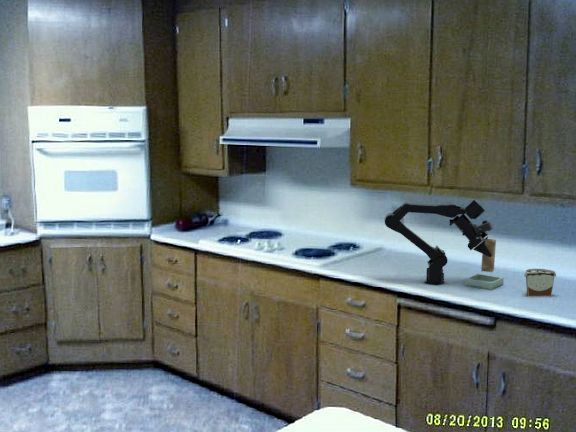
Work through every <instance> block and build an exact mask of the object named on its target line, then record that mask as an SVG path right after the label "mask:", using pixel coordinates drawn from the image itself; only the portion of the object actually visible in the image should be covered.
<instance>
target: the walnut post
mask: <svg viewBox="0 0 576 432" xmlns="http://www.w3.org/2000/svg"><path fill="white" fill-rule="evenodd" d="M484 240H485V245H486V247H487V248H488V250H489V251H490V253H491V255H492V256H491V257H488V256H486V255H484V254H482V253H481V255H482V256H481V270H480V271H481V272H487V273H493V272H494V271H495V258H496V245H497V244H496V243H497V239H493V238H488V239H484ZM484 240H483V241H484Z"/></svg>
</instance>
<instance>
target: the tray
mask: <svg viewBox="0 0 576 432" xmlns="http://www.w3.org/2000/svg"><path fill="white" fill-rule="evenodd" d="M464 283H465V287H469V288H470V287H472V288H477V289H481V290H488V291H493V290H496V289H497V288H500V287H501V286H504V277H499V276H494V275H488V274H482V273H481V274H480V273H476V274H474V275H471V276H469V277H466V278H465V282H464Z"/></svg>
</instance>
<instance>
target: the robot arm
mask: <svg viewBox="0 0 576 432" xmlns="http://www.w3.org/2000/svg"><path fill="white" fill-rule="evenodd" d="M485 212H486V210H485V209H484V208H483V206H482V205H480V204H479V203H478V202H477V201H476V200H475V199H472V200H471V201H470V202H469V203H468V204H466V206H464V207H463V206H460V205H459V206H458V205H456V203H454V202H444V203H437V204H436V203H435V204H434V203H433V204H431V203H430V204H429V203H414V202H413V203H412V202H408V201H407V202H404V203H402V204H401V205H400V206H399V207H398V208H396V209H395V210H394V211H393V212H389V213H387V214H386V215H385V217H384V225H385V226H386V227H387V228H388V229H391V230H392V231H394V232H396V233H398V234H401V235H402V236H403V237H404V238H405V239H407V240H408V241H410V243H412V244H413V245H414V246H416V247H417V248H418V249H419V250H421V251H422V252H423V253H424V254H425V255H426V256H427V257H428V258H429V260H428V261H427V265H428V267H426V279H425V281H424V282H423V283H425V284H429V285H434V286H438V285H443V284H444V283H445V273H444V269H443V268H444V267H445V266H446V265H447V263H448V261H449V260H448V257H447V255H446V251H445V250H443V249H441V247H439V246H438V245H435V247H434V246H432V245H430V244H429V243H428V242H426V241H425V240H424V239H423V238H421V237H420V236H419V235H417V234H416V233H415V232H414V231H413V230H411V229H410V228H409V227H407V226H406V225H405V224H404V222H403V221H402V220H403V218H404V217H405V216H406V215H407V214H409V213H416V214H431V215H432V214H433V215H434V214H435V215H438V216H443V217H446V218H450V219H449V226H450V227H451V226H452V225H454V226H456V228H458V230H459V231H460V232H461V233H462V234H461V235H462V236H464V237H465V238H466V239H467V240H468V243H467V248H468V249H469V250H470V251H472V250H473V251H475V252H478V253H480V254H481V255H482V254H484V255H486V256H488V257H491V256H492V255H491V253H490V251H489V250H488V248H487V247H486V245H485V240H484V239H489V236H488V235H489V233H488V232H490V231H492V230H493V225H492V222H491V221H488V220H487V219H485V220H483V221H482V223H481V224H479V225H477V224H476V223H472V221H471V220H477V219H478V218H479V217H481V216H482V215H483V214H484V213H485ZM459 215H460V216H459ZM483 240H484V241H483Z"/></svg>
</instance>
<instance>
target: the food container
mask: <svg viewBox="0 0 576 432" xmlns="http://www.w3.org/2000/svg"><path fill="white" fill-rule="evenodd" d="M523 275H524V277H525V281H526V282H525V284H526V296H527V297H529V298H531V297H536V298H537V297H552V293H553V289H554V283H555V282H554V281H555V278H556V277H557V273H556V271H554V270H552V269H545V268H528V269H526V270H525V272H524V274H523Z"/></svg>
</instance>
